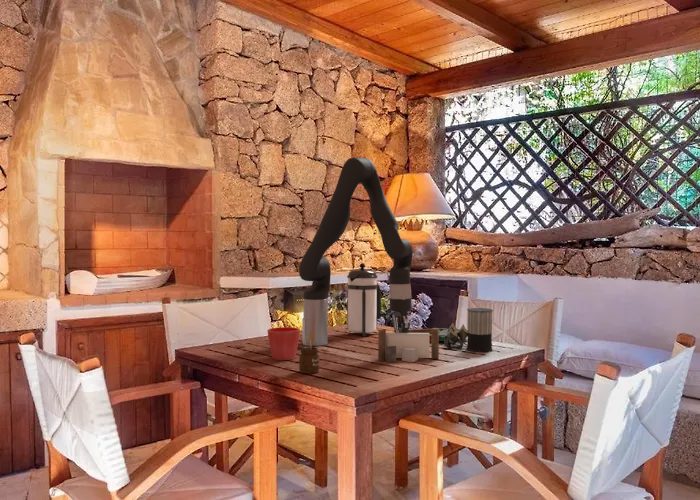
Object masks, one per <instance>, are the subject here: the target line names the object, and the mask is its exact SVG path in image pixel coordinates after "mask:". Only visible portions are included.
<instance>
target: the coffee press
mask: <svg viewBox="0 0 700 500" xmlns="http://www.w3.org/2000/svg"><path fill="white" fill-rule="evenodd" d="M365 267H366V264H365V263H364V262H362V263H361V262H360V263H359V268H357V269H356V268H355V269H351V270H350V271H348V275H346V277H347V278H346V279H347V286H346V288H347V292H346V293H347V295H346V296H347V301H346V302H347V303H346V304H347V305H346V306H347V310H346V314H347V317H346V321H347V322H346V324H347V325H346V329H345V330H344V332H343V333H344V335H346V336H347V335H348V334H350V333H359V334H361V336H362V338H366V336H367V335H366V334H367V333H375V334H376V335H378V333H377V332H376V330H377V331H378V330H379V329H378V319H380V316H381V309H382V303H381V302H382V291H381V287H380V285H379V284H378V283H377V281H378V280H377V279H378V275H377V272H376V271H374V270H373V269H365ZM347 330H348V332H347ZM346 332H347V333H346Z"/></svg>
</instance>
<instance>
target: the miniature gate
mask: <svg viewBox="0 0 700 500" xmlns="http://www.w3.org/2000/svg"><path fill="white" fill-rule="evenodd" d="M408 333H429V342H431V339H432V328H423V329H422V328H420V329H419V328H418V329H409V331H408ZM450 337H454V338H458V339H460V340H462V341H463V342H464V343H466V342H465V341H466V339H467V338H468V329H467V328H466V327H465V324H462V325H461V327H460V328H457V327H456V324H455V323H454V322H452V323H451V324H450V326H449V328H447V327H444V328H441V327H440V328H439V342H444V341H445V340H446V339H447V338H450ZM452 342H454V343H455V341H452Z"/></svg>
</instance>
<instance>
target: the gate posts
mask: <svg viewBox="0 0 700 500" xmlns="http://www.w3.org/2000/svg"><path fill="white" fill-rule="evenodd" d="M431 329H432V339H431V341H430V342H431V349H430V350H431V351H430V353H431V356H430V357H431V360H439V358H440V357H439V355H440V354H439V349H440V347H439V345H440V341H439V328H438V327H432V328H431ZM377 332H378V333H377V335H378V336H377V337H378V338H377V340H378V341H377V344H378V346H377V348H378V349H377V350H378V352H377V355H378V356H377V362H378V361H379V362H386V363H397V358H396V346H386V333H387V330H386V329H378V330H377Z"/></svg>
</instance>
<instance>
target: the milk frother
mask: <svg viewBox="0 0 700 500" xmlns="http://www.w3.org/2000/svg"><path fill="white" fill-rule="evenodd" d="M466 310H467V330H468V336H467V343H466V342H463V341H462V340H461V339H460V338H459V339H458V338H454V337H450V338H447V339H446V340H445V341H443V345H444V346H445V347H446V348H448V349H453V350H459V349H462V348H463V347H464V346H466V350H467V351H471V352H475V353H476V352H480V353H486V352H492V351H493V342H492V341H493V340H492V339H493V336H492V335H493V333H492V331H493V311H494V310H493V309H491V308H484V307H472V308H471V307H470V308H467V309H466ZM452 341H454V342H452ZM455 342H457V343H458V345H454V344H455Z"/></svg>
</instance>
